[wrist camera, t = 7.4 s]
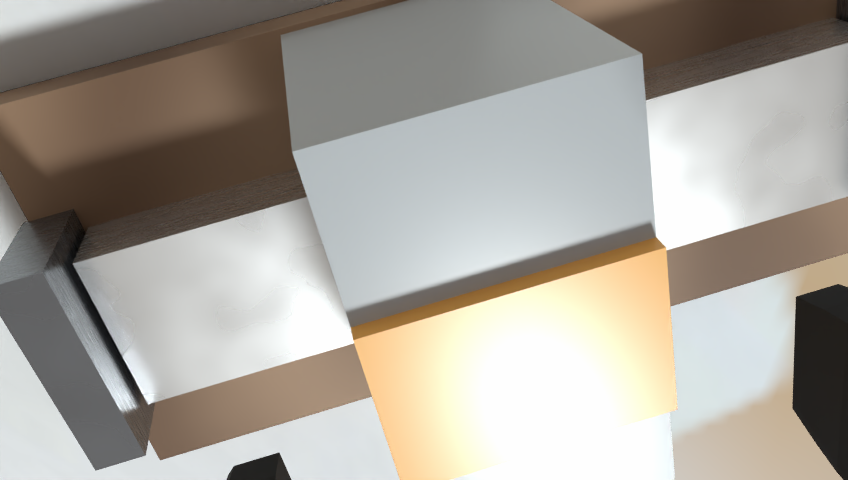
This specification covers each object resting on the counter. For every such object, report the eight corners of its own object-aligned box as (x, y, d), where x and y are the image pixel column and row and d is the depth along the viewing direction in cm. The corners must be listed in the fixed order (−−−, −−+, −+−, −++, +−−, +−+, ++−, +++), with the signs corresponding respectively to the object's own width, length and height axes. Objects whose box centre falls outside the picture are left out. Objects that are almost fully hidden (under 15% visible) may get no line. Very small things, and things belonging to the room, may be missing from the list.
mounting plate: (851, -138, 16) (886, -136, 15) (830, 232, 20) (856, 250, 19) (-14, 97, 15) (-32, 113, 14) (164, 432, 19) (160, 460, 18)
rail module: (505, -27, 15) (653, 60, 9) (560, 319, 19) (685, 521, 13) (280, 35, 14) (292, 160, 9) (386, 372, 18) (440, 600, 13)
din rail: (881, -19, 16) (978, 5, 14) (866, 168, 18) (948, 214, 16) (23, 223, 15) (-17, 289, 13) (116, 390, 17) (95, 470, 15)
